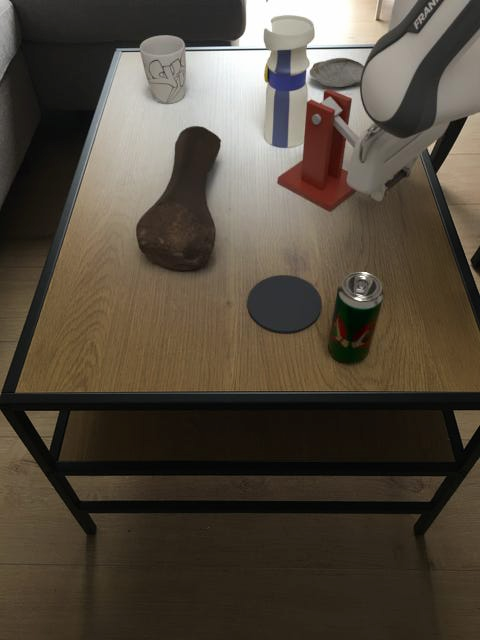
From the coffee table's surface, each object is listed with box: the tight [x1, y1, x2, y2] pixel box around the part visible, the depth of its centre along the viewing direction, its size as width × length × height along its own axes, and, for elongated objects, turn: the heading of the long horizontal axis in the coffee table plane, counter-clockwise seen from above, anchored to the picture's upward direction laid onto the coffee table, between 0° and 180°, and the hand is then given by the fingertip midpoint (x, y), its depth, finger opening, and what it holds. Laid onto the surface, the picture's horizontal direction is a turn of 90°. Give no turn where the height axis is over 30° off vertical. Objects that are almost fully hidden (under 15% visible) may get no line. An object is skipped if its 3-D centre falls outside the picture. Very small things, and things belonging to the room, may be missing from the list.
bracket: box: [277, 88, 357, 212], centre depth 83 cm, size 11×9×15 cm
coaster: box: [246, 274, 323, 335], centre depth 73 cm, size 10×10×1 cm
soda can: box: [327, 271, 385, 365], centre depth 63 cm, size 5×5×12 cm
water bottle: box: [263, 0, 316, 149], centre depth 89 cm, size 8×9×25 cm
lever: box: [320, 97, 405, 191], centre depth 79 cm, size 16×5×2 cm, turn 46°
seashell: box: [309, 57, 364, 88], centre depth 108 cm, size 12×8×5 cm
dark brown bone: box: [135, 125, 222, 272], centre depth 83 cm, size 11×10×28 cm
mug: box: [139, 34, 187, 105], centre depth 105 cm, size 11×8×10 cm
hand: (390, 187), depth 79 cm, fingers closed on lever, 5 cm apart
